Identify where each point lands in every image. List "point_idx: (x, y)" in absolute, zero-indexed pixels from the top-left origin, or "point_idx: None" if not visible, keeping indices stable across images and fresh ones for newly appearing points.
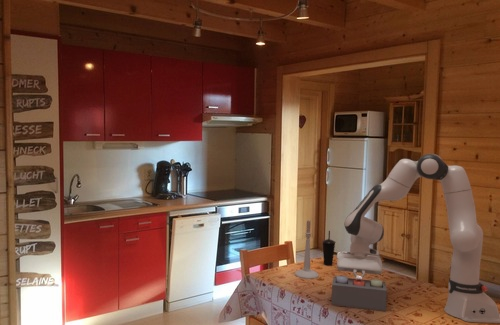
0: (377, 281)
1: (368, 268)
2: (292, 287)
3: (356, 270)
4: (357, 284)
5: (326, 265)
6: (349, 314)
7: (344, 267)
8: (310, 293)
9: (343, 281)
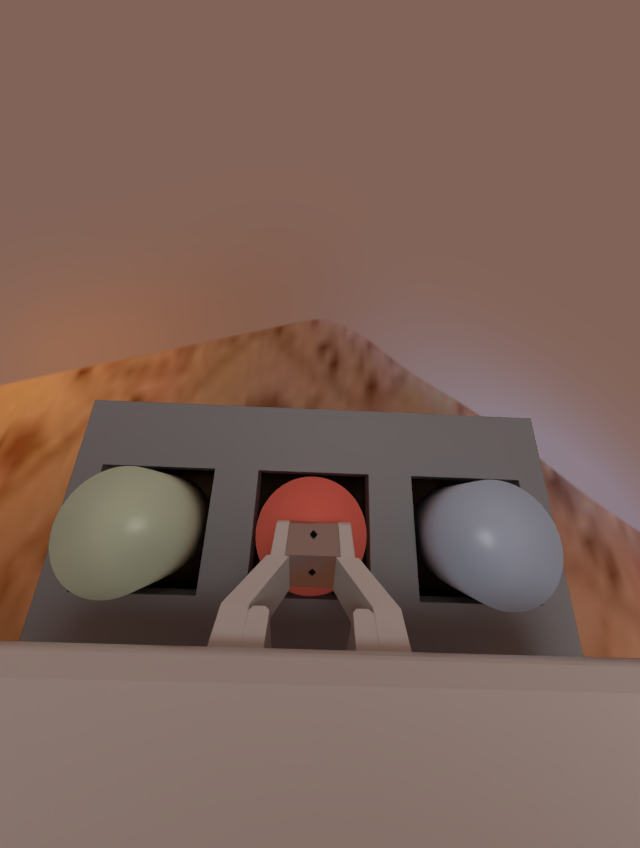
0: (114, 501)
1: (113, 676)
2: None
3: (358, 637)
4: (327, 481)
5: None
6: (356, 364)
7: (594, 659)
8: (606, 614)
9: (460, 485)
